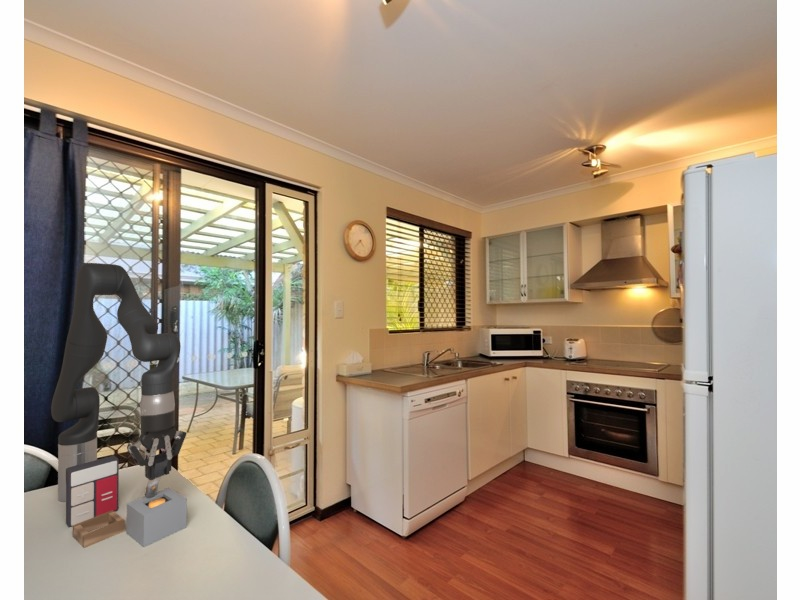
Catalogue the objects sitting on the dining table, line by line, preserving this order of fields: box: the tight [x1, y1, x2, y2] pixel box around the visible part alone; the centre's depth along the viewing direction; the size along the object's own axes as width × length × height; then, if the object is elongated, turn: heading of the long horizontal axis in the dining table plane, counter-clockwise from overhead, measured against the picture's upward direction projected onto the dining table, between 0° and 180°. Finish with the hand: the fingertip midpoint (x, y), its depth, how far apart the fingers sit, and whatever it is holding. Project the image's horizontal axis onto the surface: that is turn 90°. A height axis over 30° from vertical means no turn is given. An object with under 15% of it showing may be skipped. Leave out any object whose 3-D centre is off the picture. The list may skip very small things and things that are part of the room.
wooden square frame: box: [72, 510, 126, 549], centre depth 96 cm, size 8×8×3 cm
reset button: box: [149, 498, 165, 508], centre depth 97 cm, size 4×4×5 cm
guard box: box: [126, 487, 188, 548], centre depth 97 cm, size 10×10×8 cm
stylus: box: [144, 452, 168, 498], centre depth 98 cm, size 3×3×12 cm
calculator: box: [65, 455, 120, 528], centre depth 104 cm, size 11×4×15 cm, turn 142°
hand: (158, 476), depth 97 cm, fingers closed on stylus, 3 cm apart
